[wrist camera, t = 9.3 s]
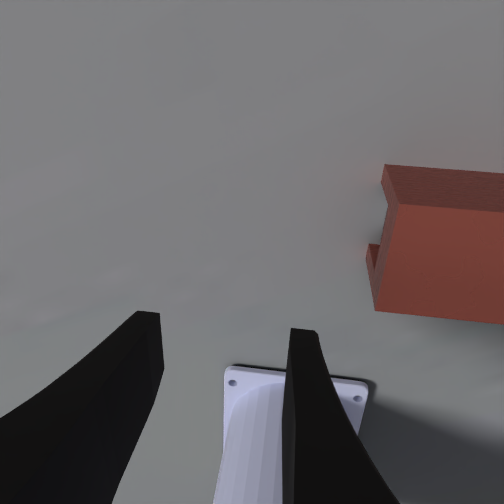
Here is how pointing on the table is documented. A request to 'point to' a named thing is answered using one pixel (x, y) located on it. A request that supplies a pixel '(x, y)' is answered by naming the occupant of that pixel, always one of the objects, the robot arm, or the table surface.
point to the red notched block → (440, 245)
